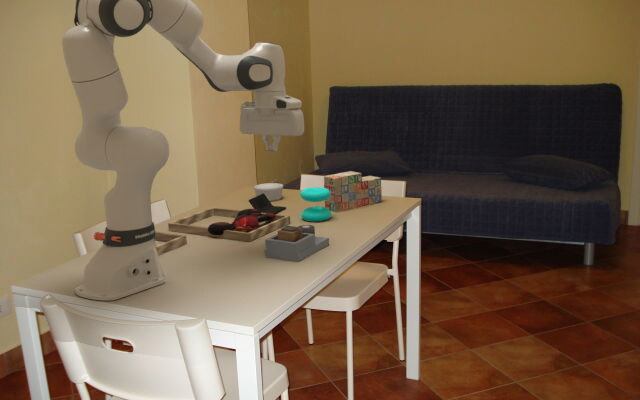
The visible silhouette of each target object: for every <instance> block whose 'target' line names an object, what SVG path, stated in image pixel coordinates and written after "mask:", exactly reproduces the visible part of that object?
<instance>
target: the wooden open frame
mask: <svg viewBox="0 0 640 400" xmlns="http://www.w3.org/2000/svg"><path fill="white" fill-rule="evenodd" d="M240 211H242V210H240V209H230V208H224V207H223V208H221V207H215V206H213V207H210V208H207V209H205V210H201V211H199V212H196V213H193V214H191V215H188V216H185V217H181V218H179V219H176V220H173V221H171V222H168V223H167V227H168V232H175V233H182V234H183V233H184V234H190V235H197V236H198V235H199V236H202V237H203V236H204V237H205V236H206V237H211V238H219V239H225V240H226V239H227V240H232V241H233V240H234V241H239V242H240V241H241V242H247V243H249V242H250V243H251V242H252V241H254V240H257V239H259V238H261V237H263V236H265V235H268V234H270V233H272V232H274V231H276V230H278V229H279V230H280V229H281V228H283V227H285V226H288V225H289V224H291V215H285V214H279V213H277V214H276V215H275V218H273V219H271V220H268V221H267V222H270V223H266V224H265V225H263V226H260V227H257V228H258V229H255V230H253V231H245V232H239V231H235V230H233V231H231V230H225V231H224V233H223V234H222V235H213V234H211V233H209V231H208V227H209V226H208V227H207V226H198V225H192V224H194V223H196V222H200V221H202V220H206V219H208V218H210V217H213V216H218V217H219V216H220V217H226V218H234V219H235V218H236V217H237V214H238V213H239V212H240ZM265 214H266V213H261V216H263V215H265ZM191 223H192V224H191Z"/></svg>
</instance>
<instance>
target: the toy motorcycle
mask: <svg viewBox="0 0 640 400" xmlns="http://www.w3.org/2000/svg"><path fill="white" fill-rule="evenodd" d="M275 215H276V214H273V213H266V214H265V215H263V216H261V212H260V211H259V210H256V209H254V208H245V209H243V210H242V211H240V212H239V213H238V214H237V217H236V218H234V220H233V221H232V222H231V223H230V222H225V221H217V222H214V223H211V224H209V225H208V231H209V233H211V234H213V235H222V234H223V233H224V231H225V230H231V231H239V232H251V231H253V230H255V229H258V228H259V223H262V222H268V220H271V219H273V218H275Z"/></svg>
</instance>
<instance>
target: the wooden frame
mask: <svg viewBox="0 0 640 400" xmlns="http://www.w3.org/2000/svg"><path fill="white" fill-rule="evenodd" d="M187 238H188V237H187V235H183V234H177V233H176V234H175V233H170V232H162V231H156V230H155V237H154V240H155V241H158V242H163V243H160V244H158V245H156V249H157V253H158V256H160V255H163V254H165V253H167V252H170V251H172V250H175V249H178V248H179V247H182V246H185V245H187V244H188V240H187Z"/></svg>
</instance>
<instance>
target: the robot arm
mask: <svg viewBox="0 0 640 400" xmlns="http://www.w3.org/2000/svg"><path fill="white" fill-rule="evenodd" d="M74 10H75V13H74V19H73V22H74V26H72V27H70V28H69V29H68V30H67V31H66V32H65V33H64V34H63V36H62V39H61V45H62V52H63V56H64V61H65V65H66V69H67V72H68V76H69V78H70V81H71V83H72V86H73V87H72V88H73V89H74V91H75V95H76V98H77V101H78V104H79V107H80V111H81V115H82V116H81V117H82V118H81V119H82V125H81V126H82V127H81V130H80V132H79V133H78V135H77V136H76V138H75V142H74V152H75V156H76V158H77V159H78V161H79V162H80V163H81V164H83V165H84V166H87V167H90V168H92V169H96V170H98V171H112V172H113V171H114V172H116V178H115V179H116V180H115V184H114V186H113V188H111V189H110V190H108V191H107V192H106V193H105V195H104V198H103V206H104V213H105V214H104V215H105V221H106V223H105V224H106V227H105V228H104V233H103V232H99V231H96V232H95V233H94V234H93V239H94V240H95V241H100V242H102V245H101V246H100V247H99V249H98V250H97V251H96V252H95V254H94V255H93V256H92V258H91V259H90V260H89V261H88V262H87V264H86V265H85V267H84V270H83V283H81V284H80V285H78V286H77V287H75V288H74V294H75V295H77V296H79V297H81V298H85V299H89V300H93V301H94V300H95V301H115V300H119V299H122V298H124V297H128V296H130V295H133V294H136V293H140V292H143V291H145V290H148V289H150V288H154V287H156V286H159V285H163V284H164V283H165V282H166V281H165V278H164V277H165V273H164V271H163V268H162V265H161V262H160V258H159V255H158V253H157V249H156V246H157V245H156V242H155V241H156V240H154V237H155V231H156V228H155V222H154V221H153V215H152V201H151V198H152V197H151V194H152V187H153V183H154V181H155V178H156V176H157V174H158V172H159V171H160V170H161V169H162V168H164V166H165V165H166V164H167V162H168V160H169V156H170V145H169V141H168V139H167V138H166V136H165V135H164V134H163V133H162V132H161V131H159V130H155V129H152V128H149V127H144V126H124V125H123V123H122V121H121V112H122V110H123V109H124V108H126V106H127V104H128V102H129V94H128V89H127V87H126V84H125V82H124V79H123V75H122V72H121V70H120V67H119V63H118V62H117V59H116V56H115V50H114V43H115V38H116V37H117V38H128V37H132V36H136V34H138V33H139V32H141V31H142V30H143V29H144V28H145V26H146V25H148V26H149V27H150V28H152V29H153V30H154V31H156V32H157V33H158V34H160V35H161V36H162V37H163V38H164V39H166V40H167V41H169V42H170V43H171V45H172V46H174V48H175V49H176V50H177V51H178V52H180V54H181V55H183V56H184V58H185V59H187V60H188V61H189V62H190V63H192V64H193V65H194V66H195V67H196V68H197V69H198V70H199V71H200V72H201V73H202V75H203V76H204V78H205V79H206V81H207V82H208V84H209V86H210V87H211V88H213V89H214V90H215V91H217V92H219V93H226V92H228V93H229V92H252V91H253V92H254V93H253V95H254V96H253V97H254V101H244V103H242V104H241V105H240V118H239V131H240V133H241V134H242V135H257V136H258V135H259V136H260V135H261V139H262V141H263V143H264V144H265V151H267V152H278V150H279V147H278V145H279V143H280V141H281V140H282V136H284V137H285V136H286V137H299V136H302V135H303V134H304V133H305V120H304V119H305V118H304V113H303V111H302V110H301V108H302V105H303V104H302V101H301V100H300V99H298V98H296V97H293V96H290V95H288V94H287V90H286V86H285V78H286V63H285V53H284V51H283V48H282V47H281V45H279V44H277V43H274V42H270V41H268V42H267V41H258V42H256V43H254V46H253V47H252V48H250V49H249V50H247V51H245V52H243V53H241V54H236V55H229V54H228V55H227V54H220V53H218V52H215V51H214V50H213V49H212V48H211V47H210V46H209V45H208V44H207V43H206V42H205V41H203V40H202V38H200V36H201V33H202V31H203V28H204V15H203V13H202V11H201V9H200V8H199V7H198V6H197V5H196V3H194V2H193V1H192V0H76V1H75V9H74ZM271 136H272V139H273V142H272V143H271V140H270V138H271Z"/></svg>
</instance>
